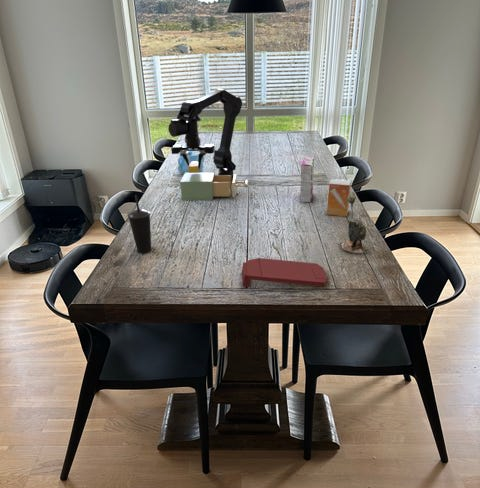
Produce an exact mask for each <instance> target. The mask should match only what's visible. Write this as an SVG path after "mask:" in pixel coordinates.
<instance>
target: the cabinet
mask: <svg viewBox="0 0 480 488" xmlns="http://www.w3.org/2000/svg"><path fill="white" fill-rule="evenodd" d="M214 175H216V172H213V171H211V172H209V171H208V172H207V171H206V172H203V171H202V172H198V173H183V175H182V177H181V180H180V182H179V183H180V194H181V200H182V201H211V200H212V201H213V200H214V198H215V196H213V190H212V181H213V178H214Z"/></svg>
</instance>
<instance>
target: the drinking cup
mask: <svg viewBox="0 0 480 488" xmlns="http://www.w3.org/2000/svg"><path fill="white" fill-rule="evenodd" d="M134 198H135V204H136V209H133V210H132V211H129V212H128V213H127V216H126V217H127V218H128V220H129V225H130V229H131V232H132V236H133V240H134V244H135V247H136V251H137V253H139V254H148V253H150V252H151V251H152V234H151V233H152V232H151V211H150V210H148V209H143V208H140V204H139V199H138V195H137V194H135V195H134Z"/></svg>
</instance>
